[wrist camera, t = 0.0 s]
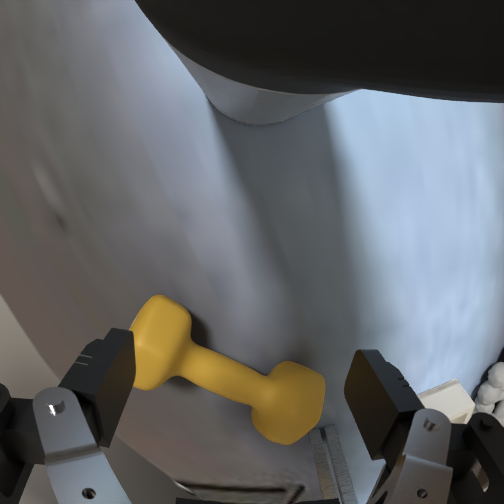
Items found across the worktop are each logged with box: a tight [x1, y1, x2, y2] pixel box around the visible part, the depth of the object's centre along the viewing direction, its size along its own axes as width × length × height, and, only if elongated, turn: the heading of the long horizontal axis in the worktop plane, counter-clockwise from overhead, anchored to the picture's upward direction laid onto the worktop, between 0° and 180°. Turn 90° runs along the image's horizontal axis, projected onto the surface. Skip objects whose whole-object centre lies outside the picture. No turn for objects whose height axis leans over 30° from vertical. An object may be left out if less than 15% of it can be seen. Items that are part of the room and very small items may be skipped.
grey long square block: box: [309, 424, 358, 504], centre depth 28 cm, size 4×4×18 cm
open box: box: [417, 378, 475, 424], centre depth 34 cm, size 8×8×6 cm
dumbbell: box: [129, 294, 326, 445], centre depth 27 cm, size 19×9×8 cm, turn 56°
